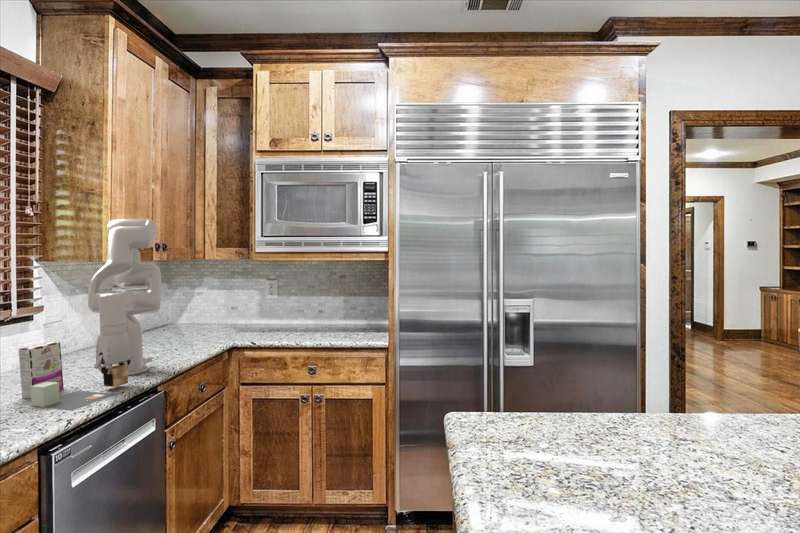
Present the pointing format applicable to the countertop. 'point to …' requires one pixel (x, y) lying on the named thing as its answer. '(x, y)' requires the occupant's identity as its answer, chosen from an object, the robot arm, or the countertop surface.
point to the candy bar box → (40, 366)
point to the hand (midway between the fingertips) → (115, 382)
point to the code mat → (77, 400)
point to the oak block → (119, 375)
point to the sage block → (45, 394)
